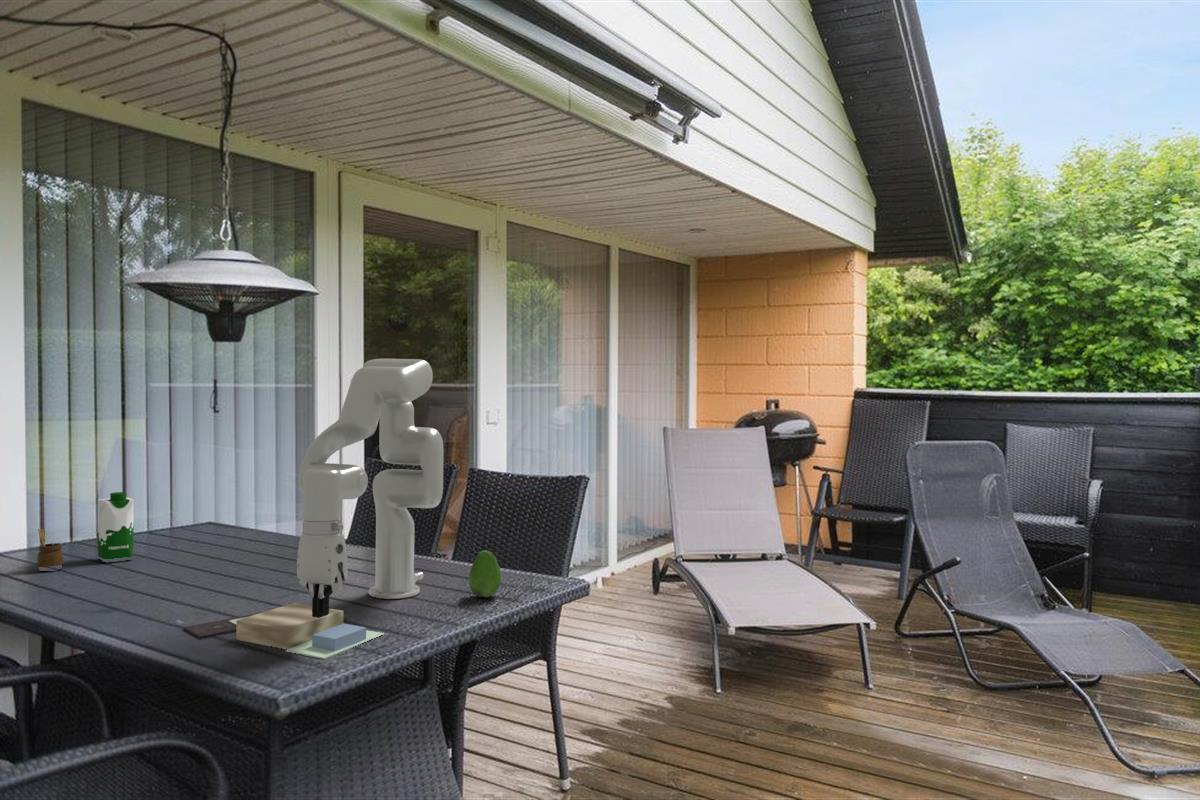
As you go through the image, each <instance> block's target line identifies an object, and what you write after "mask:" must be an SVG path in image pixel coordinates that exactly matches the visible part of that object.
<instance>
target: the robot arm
mask: <svg viewBox="0 0 1200 800" xmlns="http://www.w3.org/2000/svg"><path fill="white" fill-rule="evenodd" d="M433 375H434V374H433V369H432V366H431V365H430V363H429V362H428V361H426V360H424V359H417V358H414V359H413V358H374V359H370V360H367V361H366V362H364V364H363V365H362V367H361V368H358V370H356V371H355V373H353V375H352V379H351V380H350V385H349V387H348V390H347V393H346V396H345V399H344V402H343V405H342V408H341V411H340V413H339V417H338V418H337V420H336V421H335V422H334V423H332V424H331V425H329V426H328V427H327V428H326V429H324V431H322V432H321V433H320V434H319V435H318V436H317V437H316V438H315V439H314V440H313V441H311V443H310V444H309V446H308V448H307V450H306V452H305V456H304V457H303V460H302V464H301V467H300V470H299V474H298V488H299V490H300V492H301V493H302V533H301V534H300V538H299V542H298V547H297V548H298V549H297V558H296V576H297V578H298V579H299V585H300V586H302V587H304V588H306V589H307V591H308V593H309V596H310V598H312V599H311V606H312V617H317V618H320V617H323V616H326V615H328V614H329V609H330V597H331V596H332V595H333V593H334V592H335V591H336V592H337V591H340V590H343V589H344V584H343V582H345V581H347V579H348V575H349V572H348V569H349V568H348V567H349V566H348V553H347V545H346V539H345V536H344V534H343V533H341V532H342V531H343V530H344V525H343V524H342V501H343V500H356V499H357V498H360V497H361V496H362V495H364V493H365V491H366V490H367V487H368V483H369V477H368V474H367V471H366V470H365V469H364V468H362V467H361V466H360V465H357V464H347V463H346V464H345V463H344V464H343V463H327V461H328V460H329V459H330V458H331V456H333V454H335V453H337V451H340V450H342V449H343V448H346V447H347V446H351V445H353V444H356V443H358V442H361V441H363V440H365V439H368V438H370V437H372V436H373V435H374V434H375V433H376V430H377V427H378V424H379V440H378V442H379V445H378V446H379V455H380V458H381V460H382V461H384V462H385V463H387V464H394V465H412V466H413V465H415V466H417V465H418V466H420V467H421V470H420V469H419V470H418V469H404V468H401V469H399V468H390V469H389V468H388V469H385V470H382V471H380V472H378V474H377V473H376V475H375V476H374V478H373V480H372V481H373V482H372V495H373V500H374V506H375V565H374V566H375V570H374V571H375V574H374V575H375V578H374V579H375V580H374V586H371V587H370V588H369V589H368V595H369V596H370V597H372V598H375V597H376V598H377V599H382V598H383V599H385V600H396V599H407V598H411V597H414V596H417V595H418V594H419V593H420V590H421V589H420V586H418V585H417V584H416V582H417V581H420V580H422V579H424V573H423V572H422V571H419V572H415V532H416V531H415V530H416V529H415V521H414V519H413V517H412V515H411V514H410V512H409V510H408V508H415V509H433V508H436V507H437V506H439V504H440V503H441V501H442V498H443V491H444V442H443V437H442V435H441V433H440V432H439V430H437V429H435V428H433V427H424V426H423V427H421V426H416V425H415V407H414V405H413V403H412V401H414V400H417V399H418V398H420V397H421V396H423V395H424V394H426V393H427V392H428V391H429V390H430V389H431V386H432V384H433V379H434V378H433V377H434V376H433ZM383 599H382V600H383Z"/></svg>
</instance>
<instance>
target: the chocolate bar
mask: <svg viewBox="0 0 1200 800" xmlns="http://www.w3.org/2000/svg"><path fill="white" fill-rule="evenodd" d="M259 613H260V612H258V613H253V614H247V615H243V616H241V615H240V616H238V617H232V618H227V619H221V620H216V621H210V622H206V623H205V622H204V623H200V624H194V625H189V626H185V627H183V630H184V631H185V630H186V631H185V632H186V633H188V632H189V634H190V633H191V634H190V635H192V636H195V638H197V639H199V638H200V639H199V640H203V639H202V638H204V639H208V637H209V638H213V637H212V636H214V637H218V636H217V635H219V636H223V635H222V634H224V635H228V634H227V633H229V634H234V633H236V624H237V620H239V619H243V618H246V617H249V616H253V615H256V614H259ZM233 632H234V633H233Z"/></svg>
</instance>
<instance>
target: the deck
mask: <svg viewBox="0 0 1200 800" xmlns="http://www.w3.org/2000/svg"><path fill="white" fill-rule="evenodd" d="M258 613H259V614H257V613H255V614H256V615H253V616H249V617H246V618H243V619H239V620H237V624H236V632H235V634H236V636H235V637H236V641H241V642H247V643H252V644H256V645H261V646H266V647H271V646H272V647H271V648H276V647H277V649H281V648H282V649H281V650H286V649H290V648H292V647H295V646H298V645H301V644H303V643H306V642H309V641H311V640H312V635H313V634H316V633H319V632H321V631H324V630H327V629H330V628H333V627H336V626H339V625H341V624H344V610H340V609H336V608H335V609H334V608H329V614H328V615H326V616H323V617H320V618H317V617H312V604H311V605H309V604H306V603H305V604H304V603H299V602H292V603H288V604H286V605H283V606H279V607H276V608H272V609H269V610H265V611H263V612H258Z"/></svg>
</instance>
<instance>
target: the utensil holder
mask: <svg viewBox="0 0 1200 800" xmlns="http://www.w3.org/2000/svg"><path fill="white" fill-rule="evenodd" d="M56 530H57V532H56ZM37 531H38V535H39V539H40V540H41V542H42V544H40V545H39V548H38V550H39V552H38V554H37V566H38V567H49V566H58V565H62V564H63V565H64V553H63V550H62V548H63V546H62V543H59V542H61V538H62V533H63V532H62V530H60V529H59V528H58V529H54V530H53V533H52V536H51V539H50V540H51V543H45V540H46V536H45V533H44V529H43V528H42V529H41V528H38V529H37ZM55 532H56V534H58V532H59V533H60V534H59V536H60V538H59V540H58V541H59V542H57V541H55V542H53V537H54V535H55ZM57 537H58V535H56V537H55V540H57ZM38 567H37V568H38Z"/></svg>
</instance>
